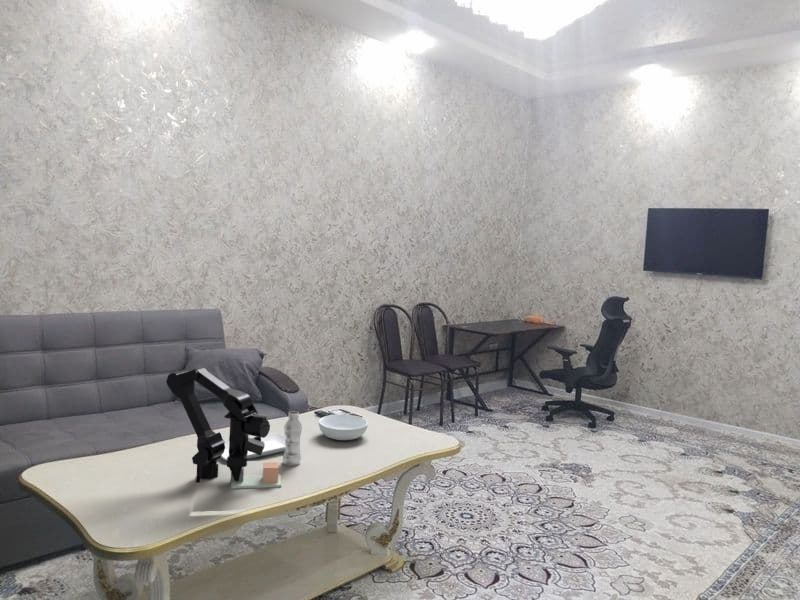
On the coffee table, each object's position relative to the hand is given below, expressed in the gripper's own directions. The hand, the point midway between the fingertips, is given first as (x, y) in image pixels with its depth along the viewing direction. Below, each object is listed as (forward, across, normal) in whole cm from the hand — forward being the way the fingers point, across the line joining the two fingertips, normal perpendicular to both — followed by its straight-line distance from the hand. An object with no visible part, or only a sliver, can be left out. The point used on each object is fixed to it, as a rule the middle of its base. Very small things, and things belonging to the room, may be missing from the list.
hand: (237, 478), depth 202 cm
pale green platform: (+2, 0, -6) cm, 7 cm away
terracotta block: (+1, 0, -11) cm, 11 cm away
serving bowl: (+3, +49, -42) cm, 64 cm away
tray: (+3, +33, -5) cm, 33 cm away
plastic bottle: (+3, +17, -19) cm, 26 cm away
